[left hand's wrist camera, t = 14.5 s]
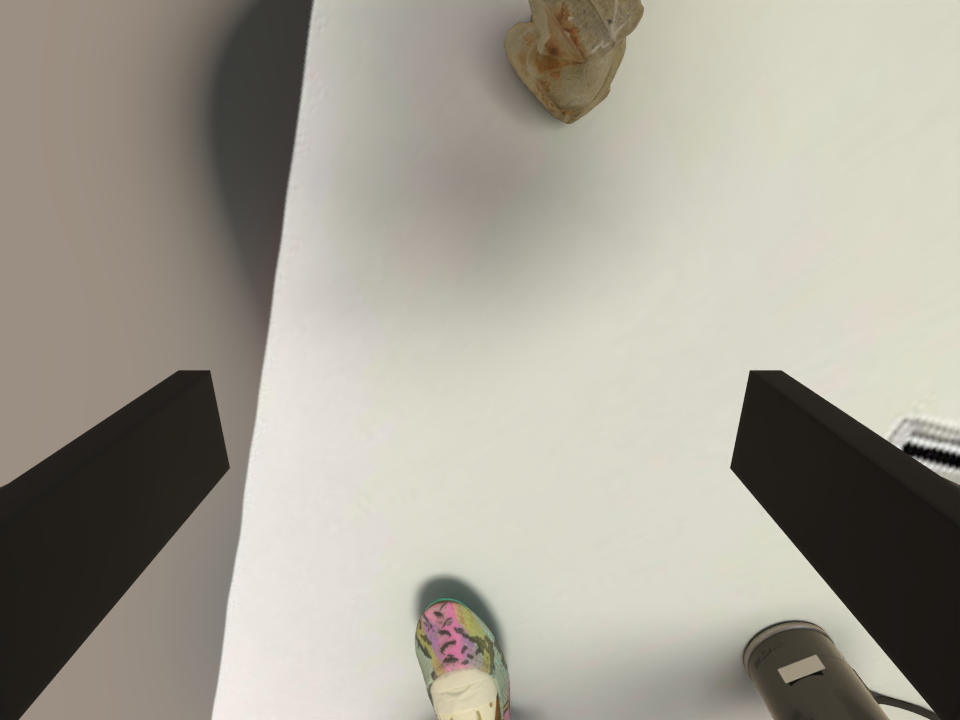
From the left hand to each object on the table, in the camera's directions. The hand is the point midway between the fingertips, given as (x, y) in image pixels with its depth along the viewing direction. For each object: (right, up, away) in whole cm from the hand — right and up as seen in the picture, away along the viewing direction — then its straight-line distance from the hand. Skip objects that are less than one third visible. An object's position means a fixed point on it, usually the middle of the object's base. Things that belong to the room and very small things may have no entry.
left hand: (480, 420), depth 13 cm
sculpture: (+5, +22, +23) cm, 32 cm away
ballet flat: (-1, -32, +41) cm, 52 cm away
